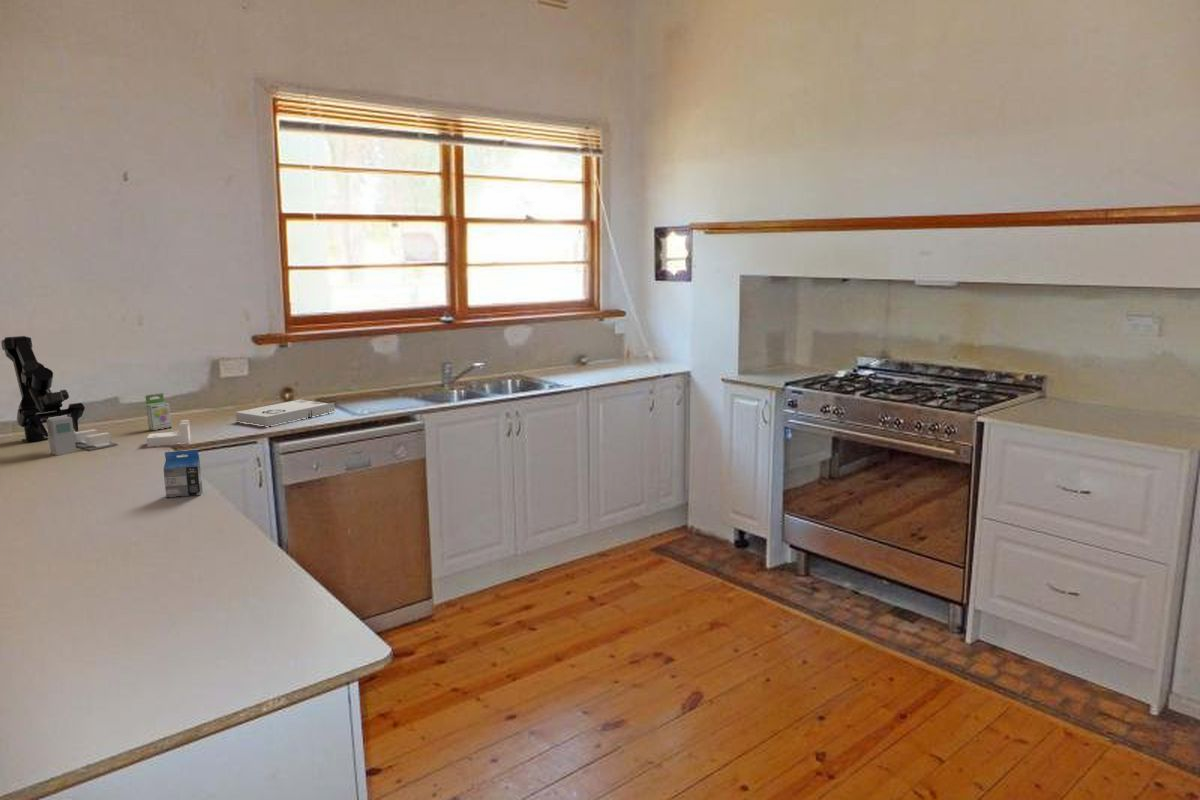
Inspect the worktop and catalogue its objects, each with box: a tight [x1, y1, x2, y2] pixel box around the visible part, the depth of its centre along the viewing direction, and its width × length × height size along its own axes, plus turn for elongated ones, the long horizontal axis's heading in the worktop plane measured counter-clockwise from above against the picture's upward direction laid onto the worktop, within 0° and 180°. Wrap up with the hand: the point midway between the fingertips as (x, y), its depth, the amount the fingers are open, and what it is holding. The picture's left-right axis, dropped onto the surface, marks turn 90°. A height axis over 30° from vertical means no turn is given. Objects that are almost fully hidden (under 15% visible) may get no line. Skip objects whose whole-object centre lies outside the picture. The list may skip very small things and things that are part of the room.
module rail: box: [74, 428, 119, 452], centre depth 294 cm, size 17×9×4 cm, turn 55°
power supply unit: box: [235, 398, 336, 426], centre depth 338 cm, size 19×33×5 cm, turn 149°
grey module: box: [46, 415, 77, 456], centre depth 282 cm, size 5×6×12 cm
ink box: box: [145, 392, 173, 431], centre depth 318 cm, size 7×4×13 cm, turn 143°
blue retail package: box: [163, 449, 203, 498], centre depth 232 cm, size 9×4×12 cm, turn 105°
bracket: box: [146, 419, 191, 448], centre depth 295 cm, size 13×7×8 cm, turn 111°
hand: (62, 433), depth 281 cm, fingers open, 9 cm apart
